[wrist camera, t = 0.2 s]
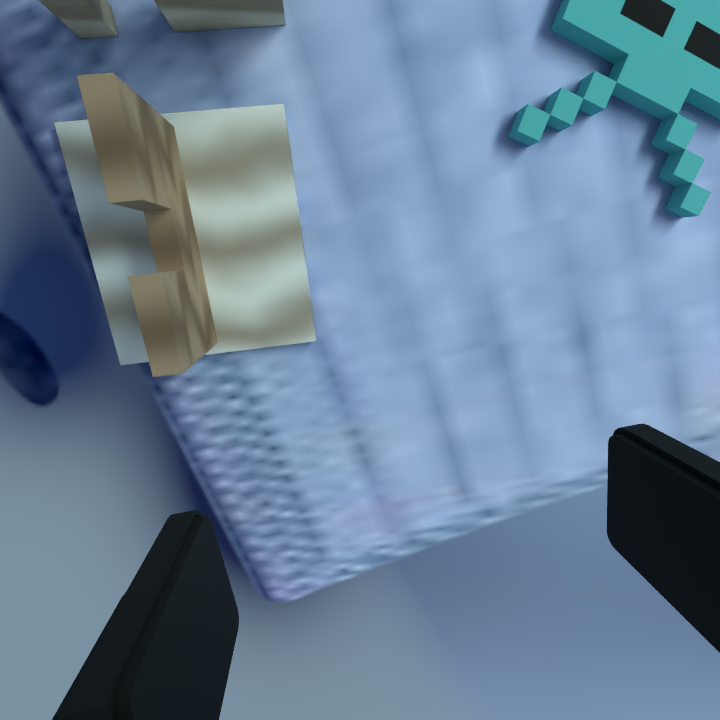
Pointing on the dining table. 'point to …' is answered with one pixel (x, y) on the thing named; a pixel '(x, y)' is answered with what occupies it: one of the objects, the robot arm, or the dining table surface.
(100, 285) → the cross base
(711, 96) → the alien figure
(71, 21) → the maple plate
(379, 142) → the dining table surface
